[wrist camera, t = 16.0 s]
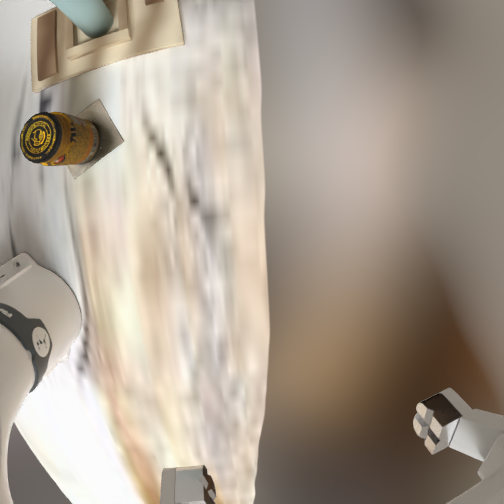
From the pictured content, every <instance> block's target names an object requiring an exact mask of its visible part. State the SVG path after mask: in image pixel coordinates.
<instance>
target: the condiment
mask: <svg viewBox="0 0 504 504" xmlns="http://www.w3.org/2000/svg"><path fill="white" fill-rule="evenodd" d="M91 120H92V121H91ZM93 120H96V121H93ZM123 142H124V141H123V140H122V138H121V136H120V134H119V133H118V131H117V129H116V128H115V126H114V124H113V122H112V121H111V119H110V117H109V115H108V114H107V112H106V110H105V108H104V107H103V105H102V103H101V102H100V100H99V99H98V100H97V101H96V102H94V103H93V104H92V105H90V106H89V107H87V108H86V109H85V110H84V111H82V112H81V113H80V114H79V115H77V116H76V117H74V116H71V115H68V114H65V113H60V112H51V113H48V112H41V113H39V114H35V115H34V116H32V117H31V118H30V119H29V120H28V121H27V122H26V124H25V125H24V128H23V130H22V132H21V135H20V147H21V150H22V152H23V155H24V156H25V158H27V159H28V160H29V161H31V162H33V163H40V164H42V165H45V166H57V165H58V166H59V165H67V166H68V168H69V170H70V172H71V174H72V176H73V177H74V179H76V178H77V177H78V176H80V175H81V174H82V173H83V172H85V171H86V170H87V169H88V168H90V167H91V166H92V165H93V164H95V163H96V162H97V161H99V160H100V159H101V158H102V157H104V156H105V155H107V154H108V153H109V152H111V151H112V150H113V149H115V148H116V147H117V146H119V145H120V144H122V143H123Z"/></svg>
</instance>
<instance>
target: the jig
mask: <svg viewBox="0 0 504 504" xmlns="http://www.w3.org/2000/svg"><path fill="white" fill-rule="evenodd" d="M102 1H103V2H104V4H105V5H106V7H107V8H108V10H109V11H110V13H111V14H112V16H113V18H114V22H113V25H112V27H111V29H110V30H109V31H108V32H107V33H106V34H104V35H103V36H101V37H98V38H90V37H88V36H86V35H85V34H84V33H83V32H82V31H81V30H80V29H79V28H78V27H77V26H76V25H75V24H74V23H73V22H72V21H71V20H70V19H69V18H68V17H67V16H66V15H65V14H64V13H63V12H62V11H61V10H60V9H59V8H58V7H56V8H54V9H51V10H49V11H47V12H45V13H43V14H41V15H39V16H37V17H35V18H33V19H32V23H31V75H32V92H35V93H37V92H39V91H42V90H44V89H46V88H48V87H50V86H53V85H55V84H57V83H60V82H62V81H65V80H67V79H70V78H72V77H75V76H77V75H80V74H83V73H85V72H88V71H91V70H94V69H97V68H100V67H103V66H106V65H109V64H112V63H115V62H118V61H121V60H125V59H128V58H132V57H135V56H139V55H142V54H146V53H150V52H154V51H158V50H162V49H167V48H171V47H176V46H181V45H184V40H183V34H182V28H181V21H180V15H179V8H178V2H177V0H102Z"/></svg>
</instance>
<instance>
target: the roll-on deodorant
mask: <svg viewBox="0 0 504 504" xmlns="http://www.w3.org/2000/svg"><path fill="white" fill-rule="evenodd" d="M50 1H51V2H52V3H53V4H55V5H56V6H57V7H58V8H59V9H60V10H61V11H62V12H63V13H64V14H65V15H66V16H67V17H68V18H69V19H70V20H71V21H72V22H73V23H74V24H75V25H76V26H77V27H78V28H79V29H80V30H81V31H82V32H83V33H84V34H85V35H86V36H88V37H90V38H98V37H101V36H103V35H104V34H106V33H107V32H108V31H109V30H110V29H111V27H112V25H113V22H114V18H113V16H112V14H111V13H110V11H109V10H108V8H107V7H106V5H105V4H104V2H103V1H102V0H50Z"/></svg>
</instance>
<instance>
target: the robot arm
mask: <svg viewBox="0 0 504 504" xmlns="http://www.w3.org/2000/svg"><path fill="white" fill-rule="evenodd" d="M18 263H19V264H20V266H19V265H18ZM80 329H81V313H80V309H79V305H78V303H77V300H76V298H75V296H74V294H73V293H72V291H71V290H70V288H69V287H68V286H67V284H66V283H65V282H64V281H63V280H62V279H61V278H60V277H59V276H57V275H56V274H55V273H53V272H51V271H50V270H48V269H45V268H43V267H41V266H39V265H38V264H37V263H36V262H35V261H34V260H33V259H32V258H31V257H30V256H29V255H28V254H26V253H20V254H19V255H17V256H16V257H14V258H12V259H11V260H9V261H8V262H6V263H5V264H3V265H2V266H0V504H13V501H12V498H11V494H10V490H9V485H8V476H7V450H8V441H9V435H10V431H11V428H12V424H13V422H14V420H15V418H16V416H17V414H18V412H19V410H20V408H21V406H22V404H23V402H24V400H25V398H26V397H27V395H28V393H30V392H32V391H33V390H34V389H35V388H36V386H38V385H39V383H40V382H41V380H42V379H44V378H46V377H48V375H49V374H50V373H51V372H52V371H53V369H54V368H55V367H56V366H57V364H58V363H59V362H60V363H64V362H66V361H67V359H68V358H69V355H70V347H71V346H72V344H73V343H74V342H75V340H76V339H77V337H78V335H79V333H80ZM416 410H417V411H418V413H417V414H416V416H415V417H414V421H413V423H414V429H415V431H416V433H417V434H418V436H419V437H421V438H424V439H425V443H424V444H425V445H426V447H427V448H428V450H429V451H430V452H431V454H434V453H436V452H438V451H440V450H442V449H444V448H446V447H448V446H449V447H451V448H453V449H455V450H458V451H460V452H462V453H464V454H467V455H469V456H472V457H474V458H476V459H478V460H481V461H483V463H482V465H481V467H480V468H479V470H478V474H479V476H480V477H481V479H482V481H481V482H479V483H478V484H476V485H475V486H473V487H472V488H470V489H469V490H467V491H466V492H464V493H463V494H461V495H460V496H458V497H456V498H455V499H453V500H451V501H450V502H448V503H446V504H504V416H501V415H498V414H493V413H490V412H486V411H482V410H478V409H474V410H472V409H471V408H470V407H469V406H468V405H467V404H466V403H465V402H464V401H463V400H462V399H461V398H460V397H459V395H458V394H457V393H456V392H455V391H454V390H453V389H451V388H448V389H446V390H444V391H442V392H440V393H437V394H436V395H434V396H432V397H430V398H428V399H426V400H424V401H422V402H420V403H419V404H418V405H417V407H416ZM215 498H216V490H215V485H214V482H213V479H212V477H211V476H210V475H208V473H207V468H206V467H205V465H200V466H190V467H178V468H177V467H176V468H164V469H163V471H162V479H161V495H160V504H215V502H214V499H215Z"/></svg>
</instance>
